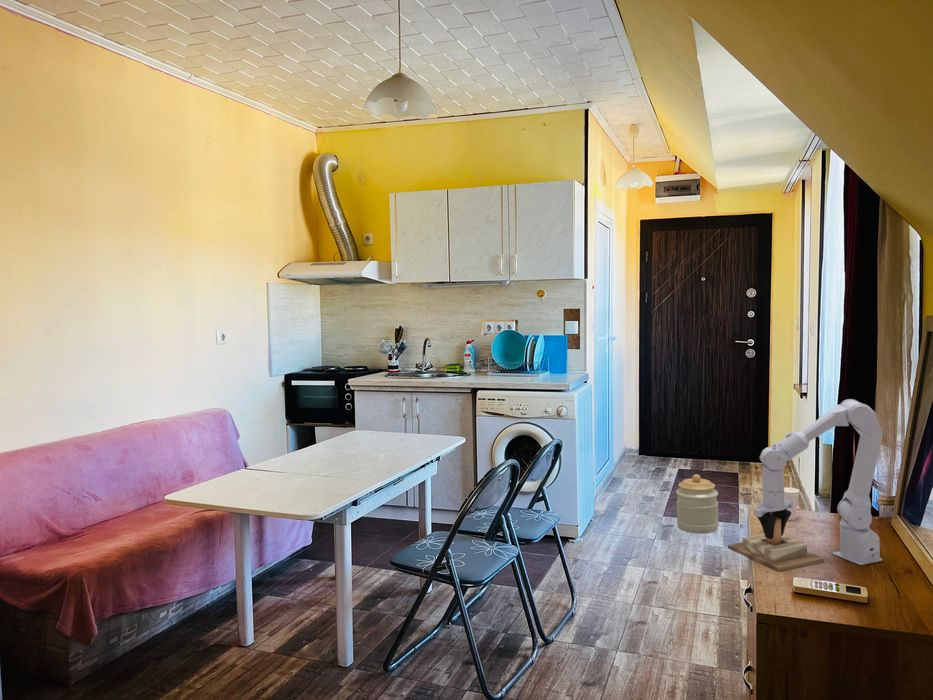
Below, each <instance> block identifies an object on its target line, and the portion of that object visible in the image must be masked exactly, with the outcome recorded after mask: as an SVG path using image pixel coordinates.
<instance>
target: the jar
mask: <svg viewBox="0 0 933 700" xmlns="http://www.w3.org/2000/svg"><path fill="white" fill-rule="evenodd" d="M678 487H679V488H677V489H676V491H675V493H676V494H677V495H676V496H677V499H676V501H675V503H676V512H677V513H676V515H677V516H676V517H677V518H676V524H677V528H678V529H679V530H681V531H683V532H686V533H689V534H690V533H691V534H712V533H715V532H717V531H718V530H719V525H720V524H719V523H720V521H719V502H718V500H717V497H718V495H719V492H718V490H716V489H715V487H716V484H714V483H713V482H712V481H710V480H708V479H705V478H701V475H700V474H697V473H696V474H693V475H692V478H685V479H683V480H682V481H681V482H679V483H678Z"/></svg>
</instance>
